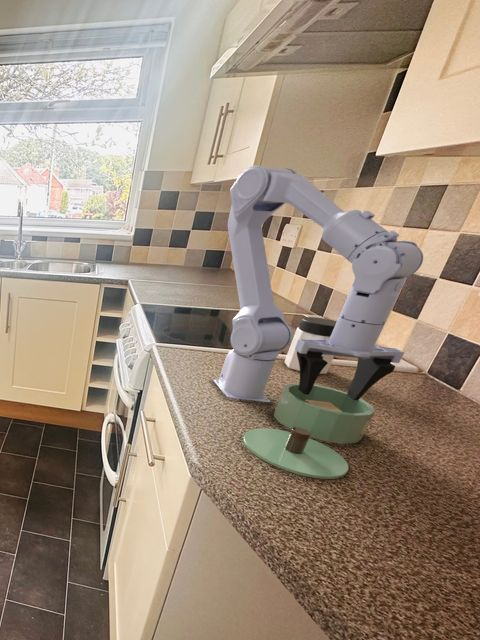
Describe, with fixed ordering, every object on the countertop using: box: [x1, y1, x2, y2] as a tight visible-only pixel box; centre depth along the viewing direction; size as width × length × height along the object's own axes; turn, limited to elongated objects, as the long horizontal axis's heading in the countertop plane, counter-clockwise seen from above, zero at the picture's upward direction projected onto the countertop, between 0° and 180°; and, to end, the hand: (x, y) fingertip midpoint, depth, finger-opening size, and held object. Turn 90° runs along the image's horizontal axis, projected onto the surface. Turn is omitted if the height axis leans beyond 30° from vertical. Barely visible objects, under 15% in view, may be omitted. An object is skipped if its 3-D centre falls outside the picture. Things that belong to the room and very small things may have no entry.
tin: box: [273, 382, 376, 445], centre depth 74 cm, size 13×13×6 cm
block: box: [305, 400, 342, 412], centre depth 75 cm, size 4×4×4 cm
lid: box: [242, 427, 350, 480], centre depth 66 cm, size 14×14×5 cm
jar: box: [284, 316, 337, 375], centre depth 101 cm, size 9×8×12 cm
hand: (327, 395), depth 73 cm, fingers open, 7 cm apart
